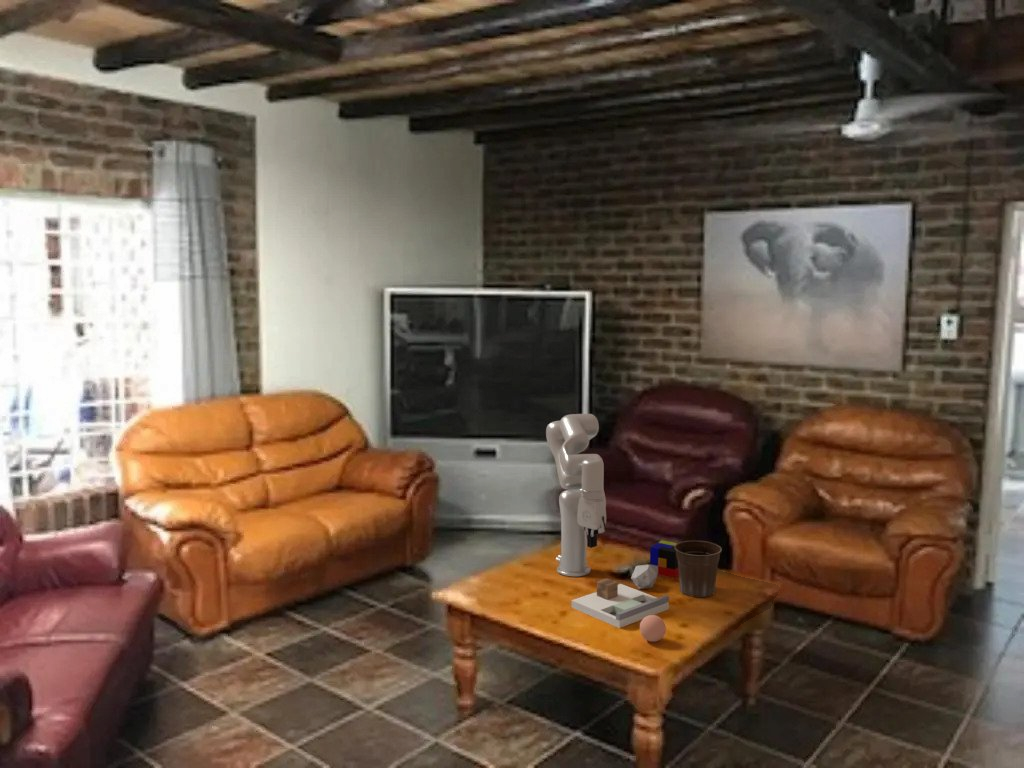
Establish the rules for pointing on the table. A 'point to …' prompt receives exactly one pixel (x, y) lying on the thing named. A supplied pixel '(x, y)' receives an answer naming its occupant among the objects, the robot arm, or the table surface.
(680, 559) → the plant pot
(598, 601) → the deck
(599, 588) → the block
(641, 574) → the die
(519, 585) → the table surface
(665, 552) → the puzzle toy
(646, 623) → the toy ball
